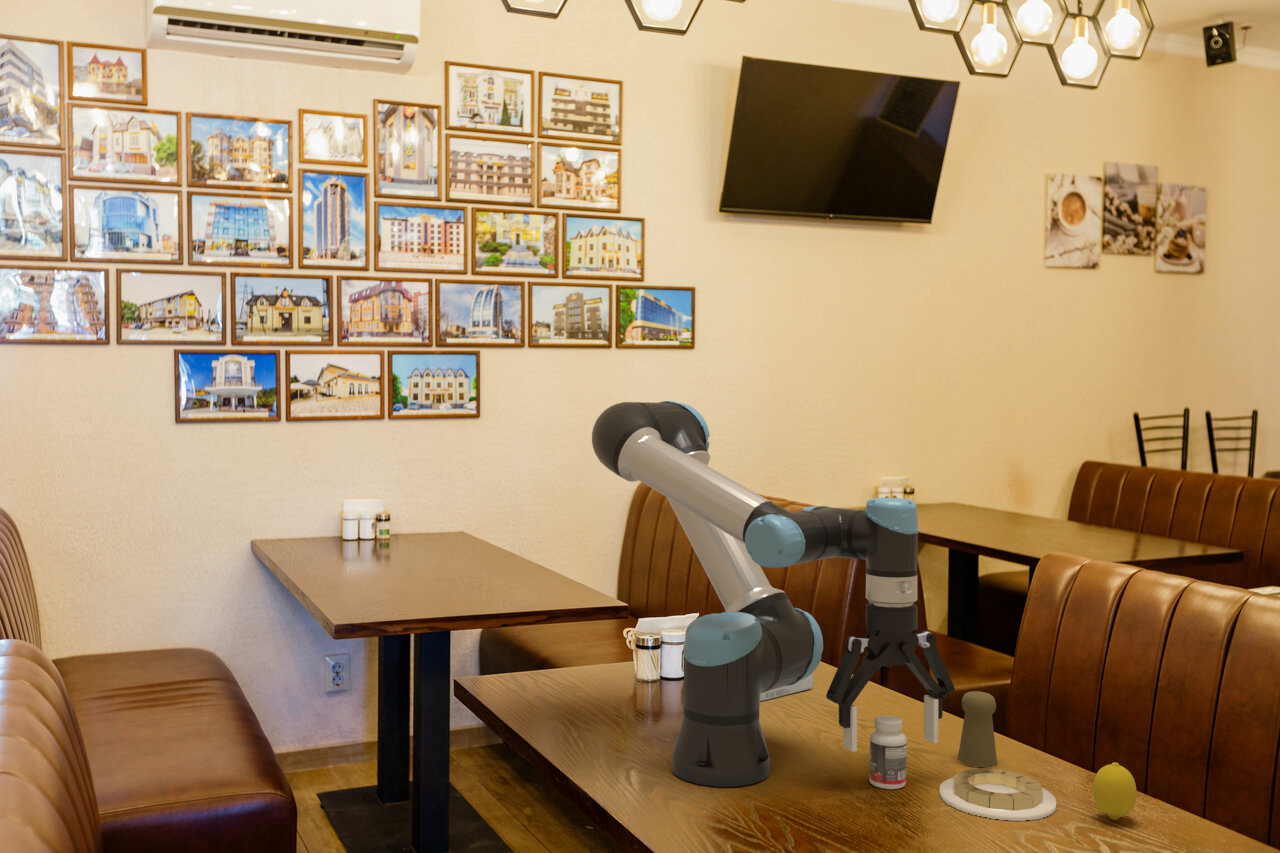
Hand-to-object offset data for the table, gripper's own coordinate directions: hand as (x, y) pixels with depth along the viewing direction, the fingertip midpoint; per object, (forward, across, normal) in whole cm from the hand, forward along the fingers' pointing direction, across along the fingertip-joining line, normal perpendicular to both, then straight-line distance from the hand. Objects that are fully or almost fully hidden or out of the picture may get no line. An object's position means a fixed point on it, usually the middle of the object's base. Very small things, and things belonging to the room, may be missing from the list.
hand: (891, 744), depth 166 cm
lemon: (+7, +23, -20) cm, 31 cm away
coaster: (+6, +12, -10) cm, 16 cm away
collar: (+6, +12, -10) cm, 16 cm away
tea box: (+5, +4, +52) cm, 53 cm away
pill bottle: (+6, 0, 0) cm, 6 cm away
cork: (+6, +19, +6) cm, 20 cm away
